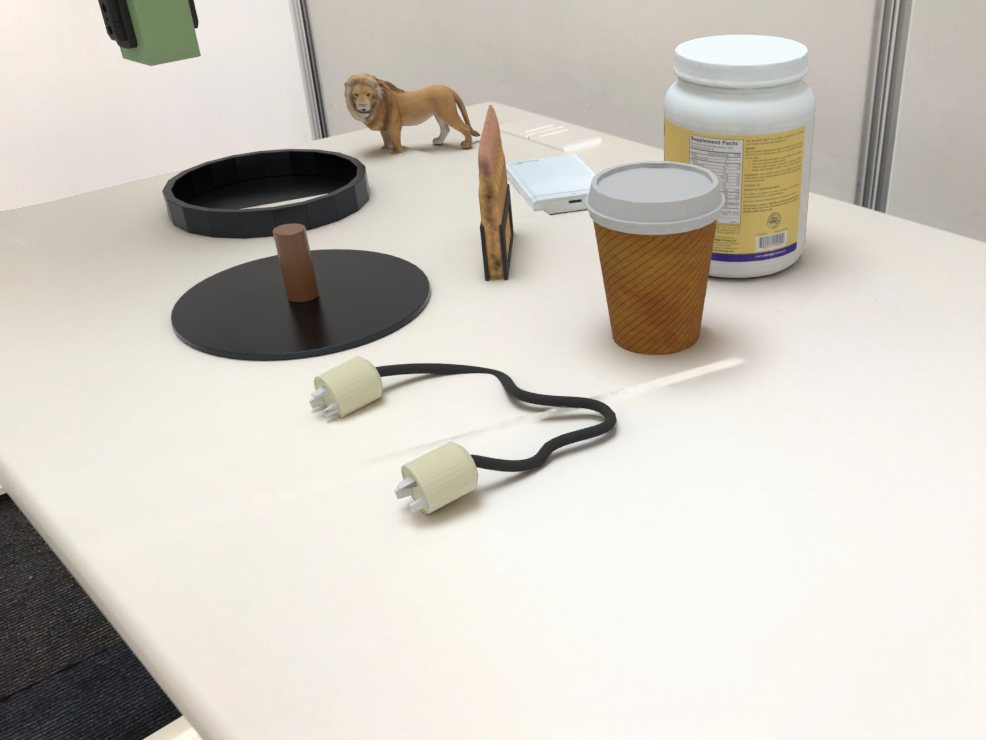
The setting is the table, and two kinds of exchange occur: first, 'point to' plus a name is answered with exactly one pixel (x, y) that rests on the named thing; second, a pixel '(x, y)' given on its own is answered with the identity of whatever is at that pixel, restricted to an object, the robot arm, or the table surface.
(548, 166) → the hard drive
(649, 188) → the disposable coffee cup
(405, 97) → the lion figurine
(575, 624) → the table surface
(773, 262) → the supplement tub
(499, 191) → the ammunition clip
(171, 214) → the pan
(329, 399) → the cable
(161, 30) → the block
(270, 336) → the lid
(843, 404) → the table surface
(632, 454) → the table surface
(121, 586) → the table surface
